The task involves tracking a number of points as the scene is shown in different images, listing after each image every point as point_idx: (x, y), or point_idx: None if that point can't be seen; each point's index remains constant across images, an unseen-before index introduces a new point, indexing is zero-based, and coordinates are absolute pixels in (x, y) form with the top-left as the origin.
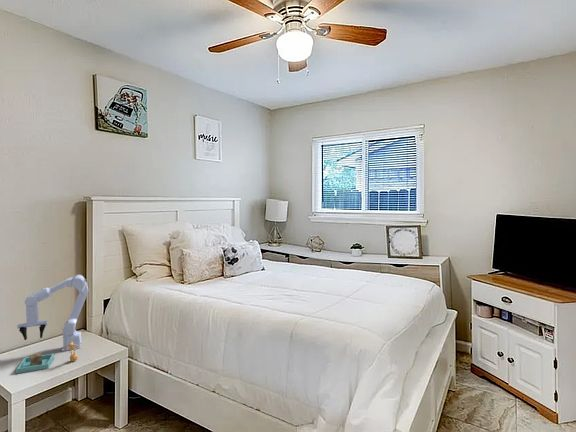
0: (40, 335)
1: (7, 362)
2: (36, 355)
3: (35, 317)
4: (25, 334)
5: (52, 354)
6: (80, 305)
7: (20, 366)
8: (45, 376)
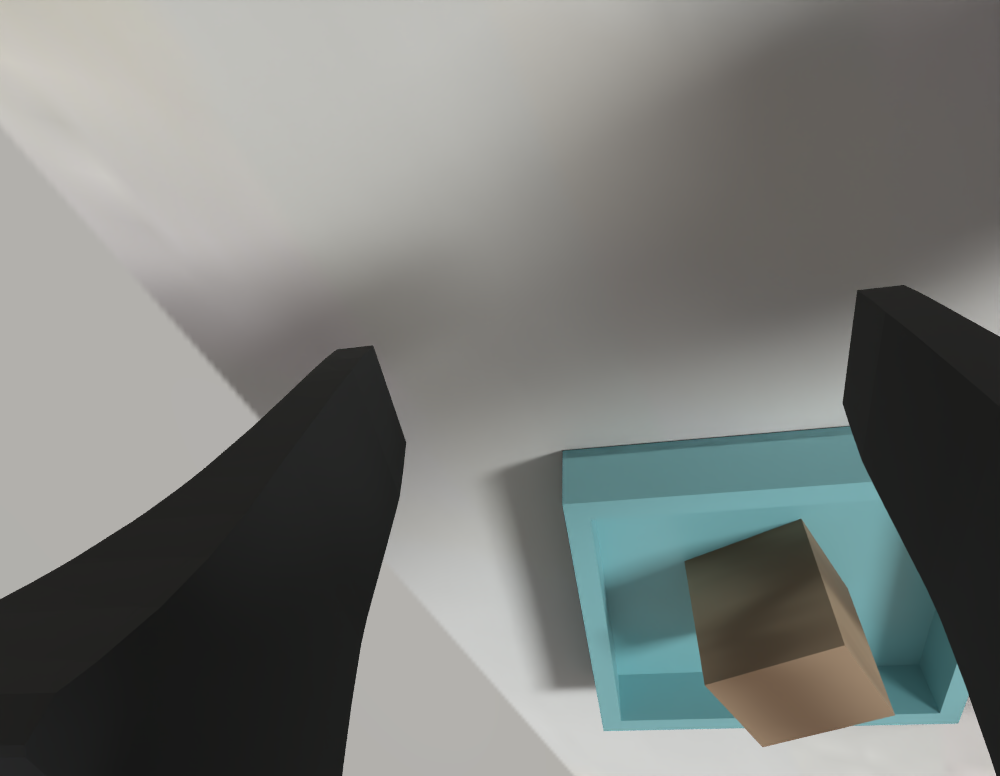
0: (899, 496)
1: (280, 396)
2: (812, 699)
3: None
4: (339, 568)
5: None
6: None
7: (615, 676)
8: (916, 768)
